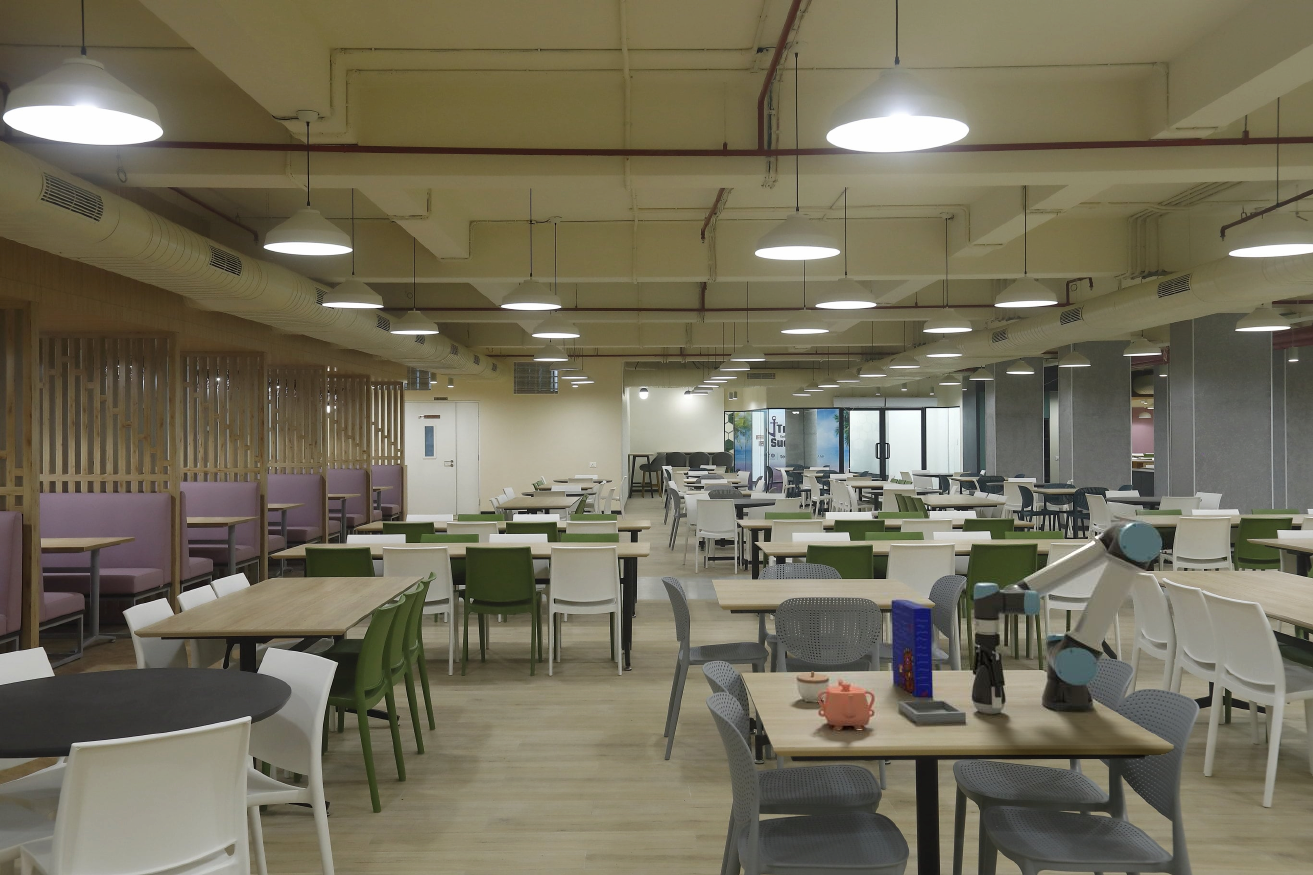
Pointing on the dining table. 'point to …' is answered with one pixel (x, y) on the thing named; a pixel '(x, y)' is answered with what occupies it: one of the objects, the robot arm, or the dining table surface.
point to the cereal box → (912, 647)
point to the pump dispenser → (985, 692)
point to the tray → (932, 712)
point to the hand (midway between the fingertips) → (988, 703)
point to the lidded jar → (812, 685)
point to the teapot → (846, 705)
